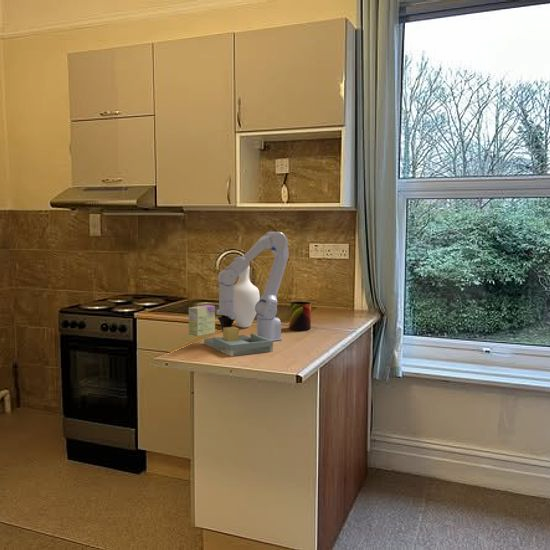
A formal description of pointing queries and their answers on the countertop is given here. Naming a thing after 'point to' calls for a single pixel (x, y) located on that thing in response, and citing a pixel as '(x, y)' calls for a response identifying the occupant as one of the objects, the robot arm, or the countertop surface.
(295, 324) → the mug
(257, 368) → the countertop surface
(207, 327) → the box
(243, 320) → the vase
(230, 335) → the ochre block
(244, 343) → the trap tray
